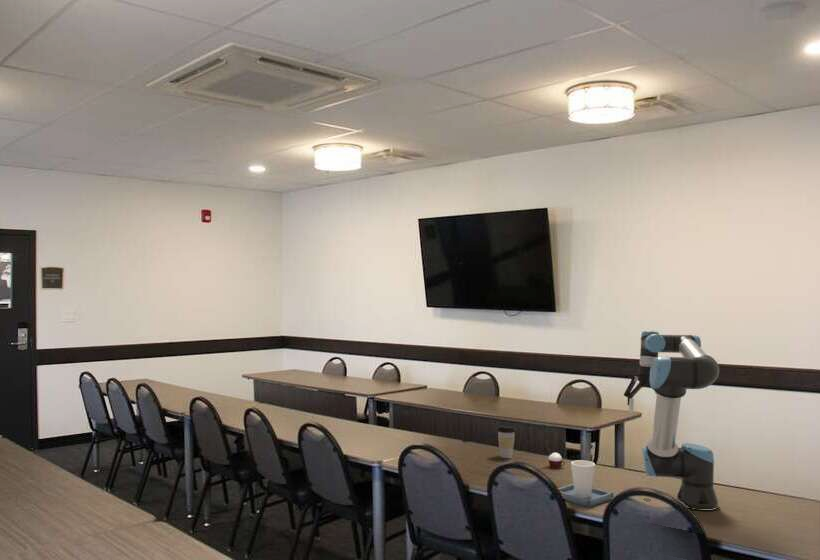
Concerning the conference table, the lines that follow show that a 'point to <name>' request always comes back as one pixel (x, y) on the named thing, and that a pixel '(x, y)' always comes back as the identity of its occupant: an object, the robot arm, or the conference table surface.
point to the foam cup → (582, 477)
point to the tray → (595, 499)
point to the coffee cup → (506, 440)
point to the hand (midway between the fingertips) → (645, 415)
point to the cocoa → (554, 458)
